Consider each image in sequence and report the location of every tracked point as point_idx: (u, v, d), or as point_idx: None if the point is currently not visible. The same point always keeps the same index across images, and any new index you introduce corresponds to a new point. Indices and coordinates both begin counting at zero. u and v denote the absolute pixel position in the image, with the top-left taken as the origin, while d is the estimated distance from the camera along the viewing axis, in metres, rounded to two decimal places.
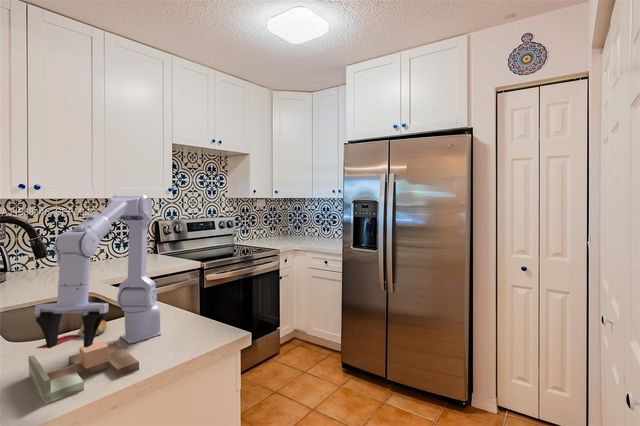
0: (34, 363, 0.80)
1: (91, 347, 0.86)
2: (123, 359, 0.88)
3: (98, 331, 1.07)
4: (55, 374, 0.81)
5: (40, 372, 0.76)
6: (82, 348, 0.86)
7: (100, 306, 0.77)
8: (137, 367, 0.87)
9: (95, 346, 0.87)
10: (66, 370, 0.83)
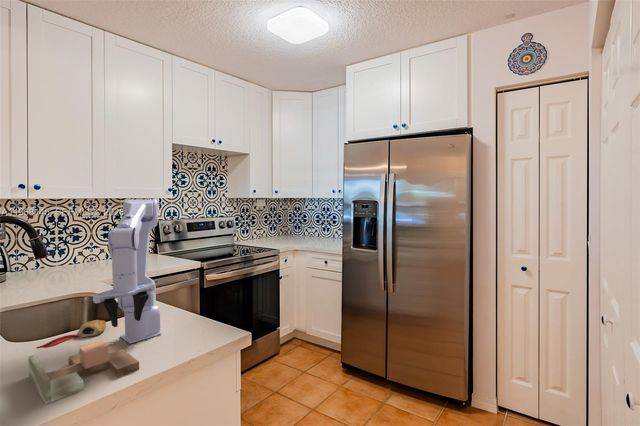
0: (34, 363, 0.80)
1: (91, 347, 0.86)
2: (123, 359, 0.88)
3: (97, 331, 1.07)
4: (55, 374, 0.81)
5: (40, 372, 0.76)
6: (82, 348, 0.86)
7: (151, 286, 0.96)
8: (137, 367, 0.87)
9: (95, 346, 0.87)
10: (66, 370, 0.83)
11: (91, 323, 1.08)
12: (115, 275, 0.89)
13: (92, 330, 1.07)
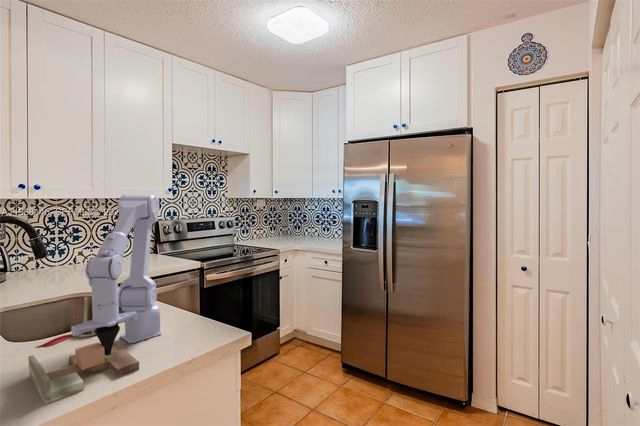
0: (34, 363, 0.80)
1: (87, 348, 0.86)
2: (123, 359, 0.88)
3: None
4: (55, 374, 0.81)
5: (40, 372, 0.76)
6: (78, 349, 0.85)
7: (134, 314, 0.93)
8: (137, 367, 0.87)
9: (91, 348, 0.86)
10: (66, 370, 0.83)
11: None
12: (95, 306, 0.86)
13: None
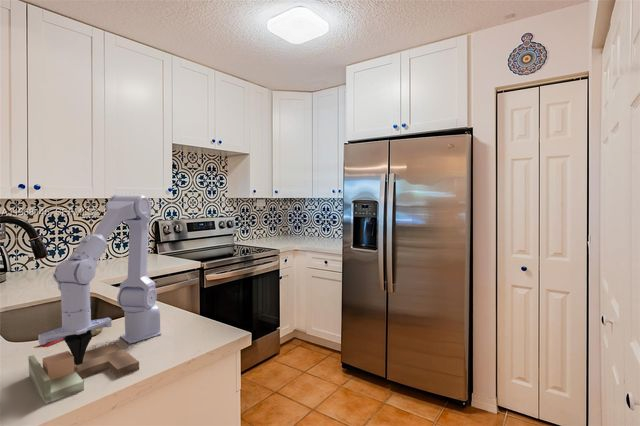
0: (34, 363, 0.80)
1: (55, 358, 0.81)
2: (123, 359, 0.88)
3: (95, 331, 1.07)
4: None
5: (40, 372, 0.76)
6: (45, 359, 0.80)
7: (108, 321, 0.88)
8: (137, 367, 0.87)
9: (59, 357, 0.81)
10: None
11: None
12: (64, 312, 0.81)
13: None
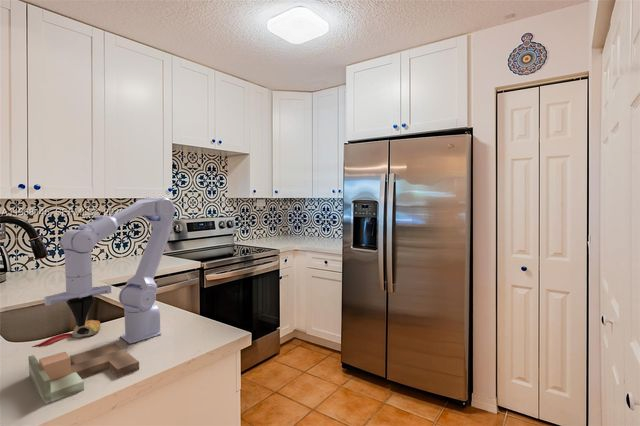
0: (34, 363, 0.80)
1: (51, 359, 0.80)
2: (123, 359, 0.88)
3: (92, 331, 1.07)
4: None
5: (40, 372, 0.76)
6: (42, 360, 0.80)
7: (108, 288, 0.95)
8: (137, 367, 0.87)
9: (56, 358, 0.81)
10: None
11: (86, 323, 1.08)
12: (68, 277, 0.88)
13: (87, 330, 1.07)
